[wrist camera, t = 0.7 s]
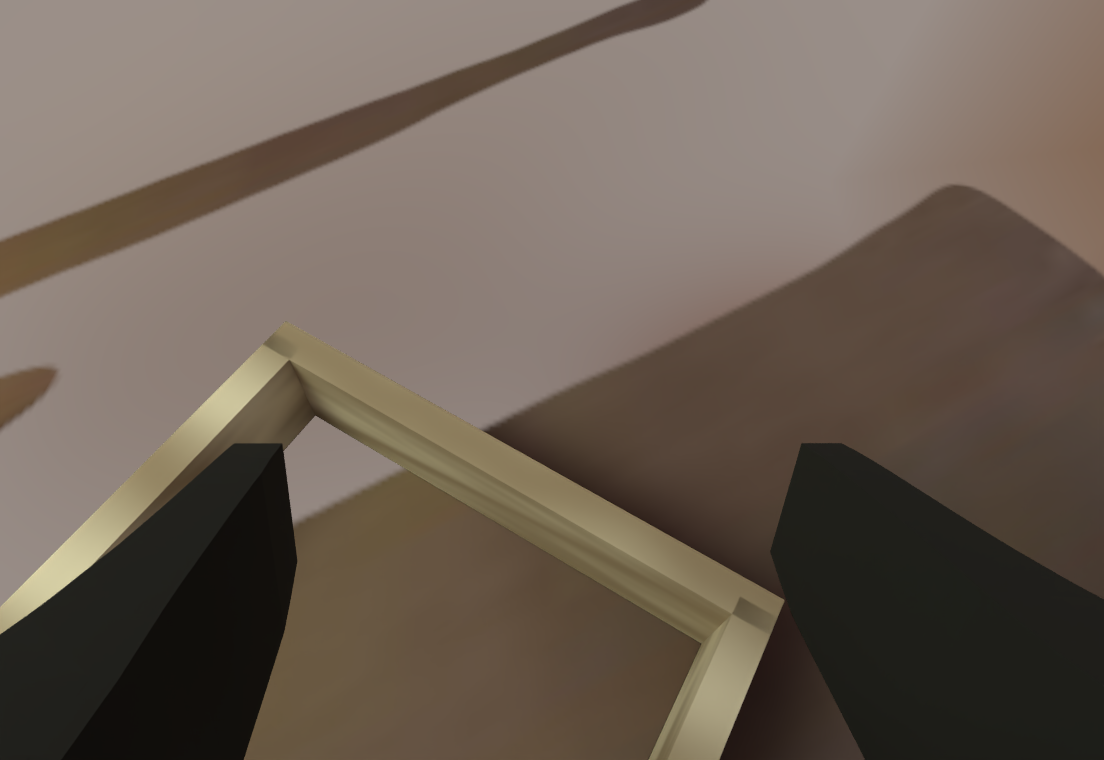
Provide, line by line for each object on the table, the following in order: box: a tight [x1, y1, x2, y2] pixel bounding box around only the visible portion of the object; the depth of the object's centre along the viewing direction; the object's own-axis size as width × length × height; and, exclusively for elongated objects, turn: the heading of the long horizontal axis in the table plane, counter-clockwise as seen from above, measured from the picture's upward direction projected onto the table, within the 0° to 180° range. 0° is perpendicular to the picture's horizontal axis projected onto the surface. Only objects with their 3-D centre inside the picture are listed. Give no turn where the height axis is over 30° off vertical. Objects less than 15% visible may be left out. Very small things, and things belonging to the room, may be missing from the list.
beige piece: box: [0, 322, 785, 760], centre depth 23 cm, size 13×19×4 cm, turn 60°
